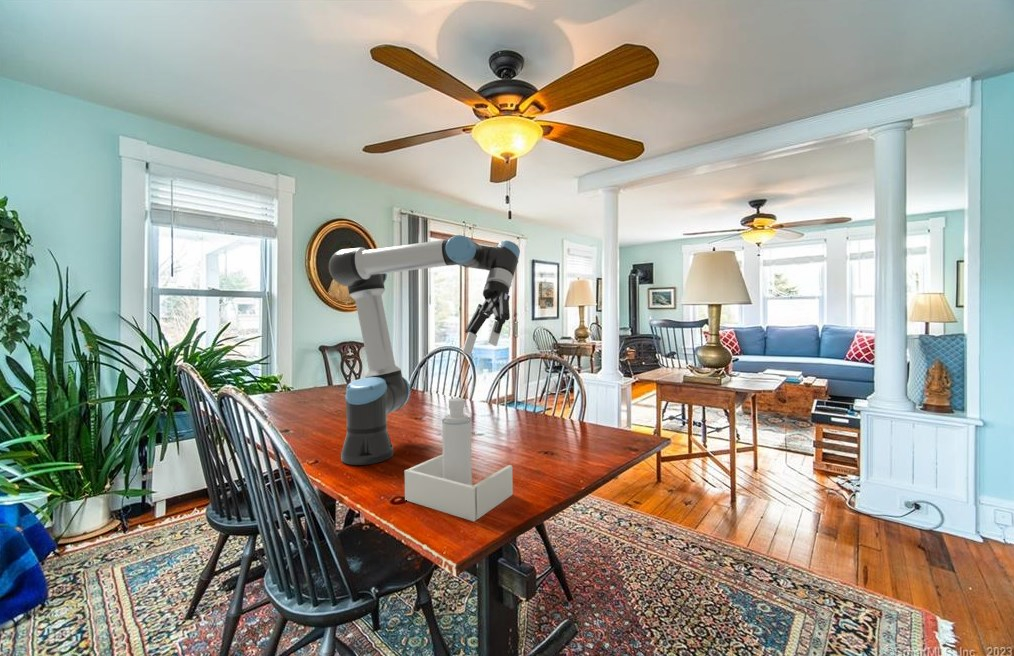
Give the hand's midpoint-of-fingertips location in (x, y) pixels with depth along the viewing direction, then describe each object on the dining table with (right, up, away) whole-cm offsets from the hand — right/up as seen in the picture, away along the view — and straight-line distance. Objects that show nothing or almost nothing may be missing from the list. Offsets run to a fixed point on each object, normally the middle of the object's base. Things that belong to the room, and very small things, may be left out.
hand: (478, 349), depth 120 cm
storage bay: (-3, -34, -19) cm, 39 cm away
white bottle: (-4, -34, -20) cm, 40 cm away
